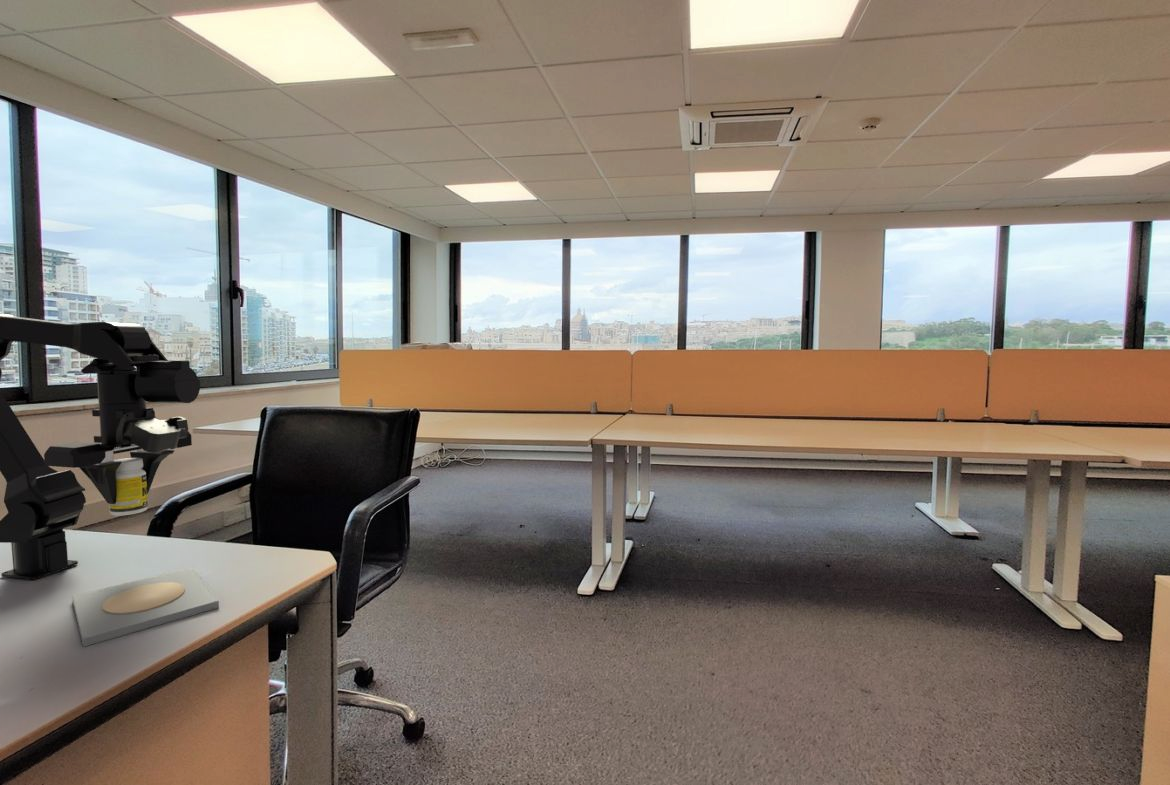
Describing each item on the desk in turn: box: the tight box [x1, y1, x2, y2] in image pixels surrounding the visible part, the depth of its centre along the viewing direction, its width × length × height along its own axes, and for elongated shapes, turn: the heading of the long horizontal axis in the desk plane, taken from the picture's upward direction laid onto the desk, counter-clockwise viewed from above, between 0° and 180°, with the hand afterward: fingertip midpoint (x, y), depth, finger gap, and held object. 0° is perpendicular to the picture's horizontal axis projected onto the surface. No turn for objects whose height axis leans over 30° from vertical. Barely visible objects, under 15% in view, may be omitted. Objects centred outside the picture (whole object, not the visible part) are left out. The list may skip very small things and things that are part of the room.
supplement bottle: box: [108, 457, 149, 517], centre depth 86 cm, size 5×5×8 cm
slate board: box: [72, 567, 220, 648], centre depth 76 cm, size 16×14×1 cm
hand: (128, 499), depth 86 cm, fingers closed on supplement bottle, 5 cm apart
